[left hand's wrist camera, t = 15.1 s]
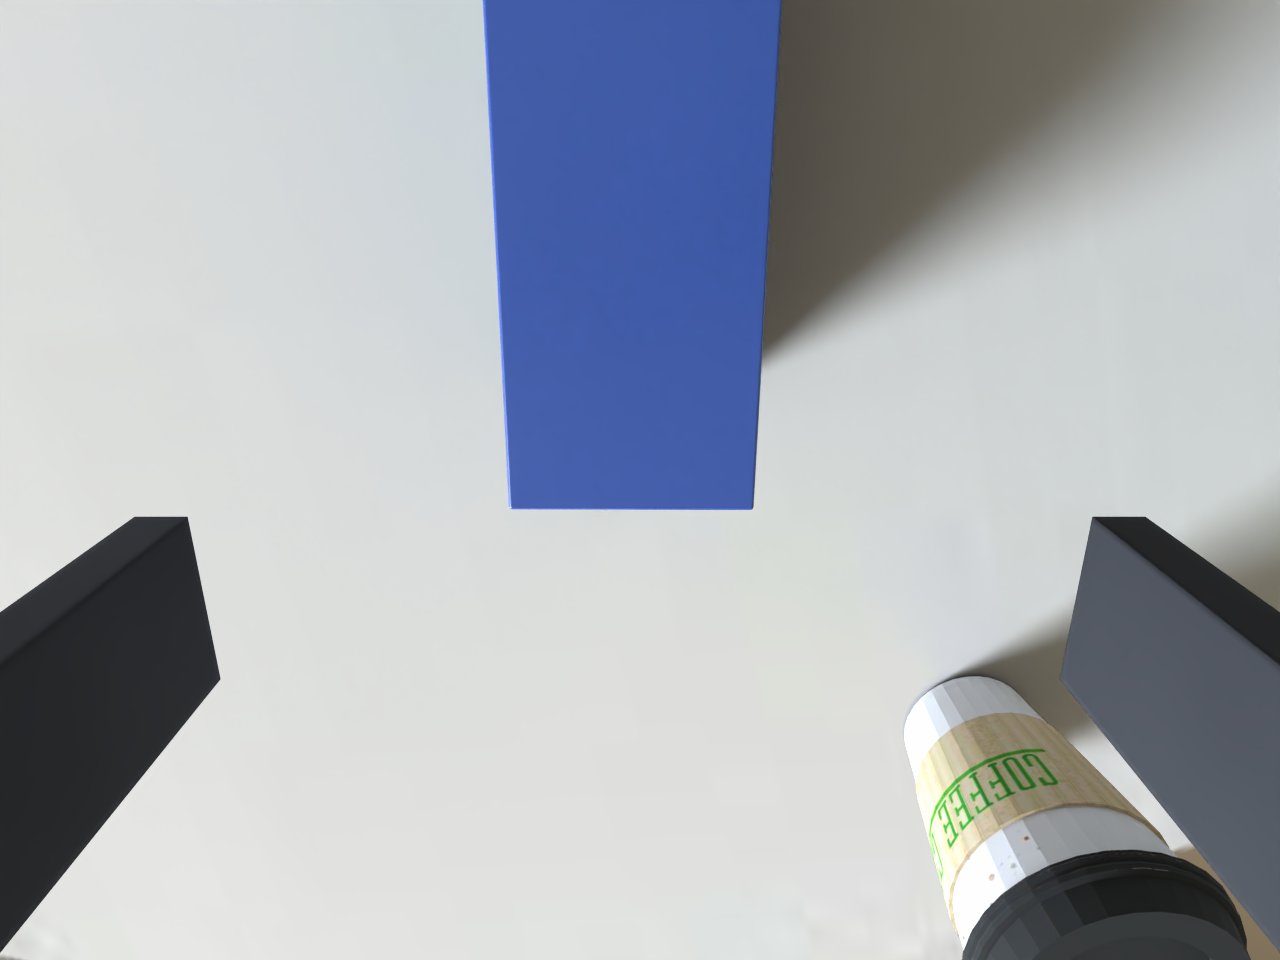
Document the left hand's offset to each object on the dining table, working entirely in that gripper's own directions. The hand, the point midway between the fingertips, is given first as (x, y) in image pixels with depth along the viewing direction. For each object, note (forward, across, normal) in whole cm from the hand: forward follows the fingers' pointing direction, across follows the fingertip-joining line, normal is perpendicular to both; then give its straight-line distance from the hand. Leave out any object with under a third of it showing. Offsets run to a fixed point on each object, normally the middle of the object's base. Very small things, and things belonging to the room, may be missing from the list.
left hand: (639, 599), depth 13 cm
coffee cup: (+25, -16, +21) cm, 36 cm away
